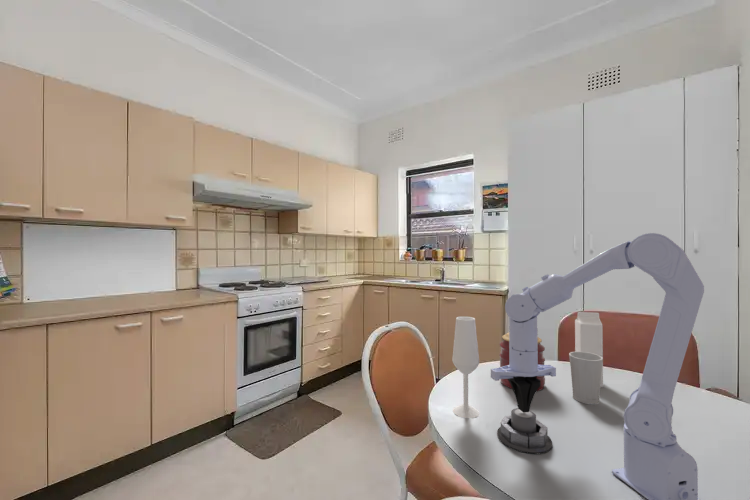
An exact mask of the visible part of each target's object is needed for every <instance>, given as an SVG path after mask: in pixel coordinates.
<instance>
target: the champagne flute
mask: <svg viewBox="0 0 750 500" xmlns="http://www.w3.org/2000/svg"><path fill="white" fill-rule="evenodd" d="M477 335H478V334H477V324H476V318H475V317H472V316H457V317H456V318H455V326H454V336H453V337H454V338H453V349H452V351H453V352H452V359H451V360H452V363H453V365H454V366H455V368H456V370H458V371H459V372H460V373H461V374H463V375H462V376H463V387H462V388H463V403H462V404H460V405H457V406H455V407H453V408H452V412H453V414H454V415H456V416H458V417H460V418H463V419H464V418H465V419H474V418H477V417H479V416H480V411H479V410H478V409H477V408H475V407H474V406H472V405H470V404H469V375H470V374H471V373H473V372H474V371H475V370H476V369H477V368H478V367H479V365H480V356H479V344H478V336H477Z"/></svg>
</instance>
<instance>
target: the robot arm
mask: <svg viewBox="0 0 750 500" xmlns="http://www.w3.org/2000/svg"><path fill="white" fill-rule="evenodd" d="M635 267H636V268H638V269H639V270H641V271H642V272H644V273H646V274H648V275H649V276H651V277H652V278H653V280H654V281H655V282H656V284H658V285H659V286H660V288H661V289H662V290H663V291H664V293H665V295H664V300H663V302H662V306H661V309H660V313H659V316H658V320H657V323H656V327H655V329H654V330H655V331H654V333H653V338H652V340H651V344H650V347H649V351H648V355H647V358H646V362H645V365H644V369H643V372H642V375H641V379H640V383H639V386H638V387H637V388H636V389H635V390H634V391H632V392H631V394H630V396H629V401H628V404H627V407H626V408H625V410H624V412H623V421H624V423H623V467H621V468H619V467H618V468H612V469H611V473H612V474H613V475H615V476H616V477H617V478H618V479H620V480H621V481H623V482H624V483H625V484H627V485H628V486H629V487H631V488H632V489H634V490H635V492H637V493H639V494H640V495H641V496H642V497H644V498H645V499H646V500H698V499H700V498H699V495H698V493H699V491H698V490H699V489H698V487H699V485H698V480H699V479H698V477H699V476H698V473H699V472H698V470H699V469H698V463H697V461H696V459H695V458H694V457H693V455H691V454H690V453H688V452H687V451H686V450H685V449H683V448H682V446H681V445H680V444H679V443H678V440H677V435H676V434H675V433H674V432H673V426H672V420H673V415H674V406H673V397H674V393H675V390H676V386H677V382H678V379H679V377H680V374H681V373H680V372H681V369H682V367H683V362H684V359H685V357H686V353H687V350H688V346H689V343H690V339H691V337H692V336H691V335H692V333H693V330H694V326H695V323H696V319H697V316H698V313H699V310H700V306H701V303H702V300H703V297H704V293H705V285H704V284H703V283H704V282H703V281H702V280H701V277H700V276H699V274H698V273H697V271H696V269H695V267H694V266H693V264H692V263H691V260H690V258H689V257H688V256H687V254H686V252H685V250H683V248H681V247H680V246H679V245H678V244H676V243H675V242H674V241H673V240H672V239H671V238H669V237H667V236H666V235H664V234H661V233H656V232H649V233H643V234H641V235H638V236H636V237H635V238H634V239H632V241H630V240H628V241H625V242H622V243H619V244H617V245H615V246H612V247H611V248H608V249H607V250H605V251H603V252H601V253H599V254H598V255H596V256H594V257H593V258H590V259H589V260H588V261H586V262H584V263H583V264H581V265H579V266H577V267H576V268H574V269H573V270H570V271H569V272H568V273H566V274H564V275H561V274H557V273H553V274H548V273H547V274H544V275H543V276H541V277H540V279H541V281H538V282H536V283H535V284H533V285H531V286H529V287H528V286H525V287H523V288H522V292H520V293H515V294H511V296H510V297H509V298H507V300H506V302H505V304H504V310H505V313H506V314H507V316H508V317H509V321H508V324H509V326H508V329H509V330H508V332H509V365H507V366H503V367H500V366H499V367H495V368H490V379H492V380H494V381H495V382H498V381H500V379H508V381H509V382H510V384H511V386H512V388H511V390H512V391H513V393H514V396H515V401H516V404H517V408H518V409H520V410H521V411H522V412H529V410H530V409H531V406H532V402H533V399H534V397H535V395H536V393H537V392H538V391H537V390H538V388H539V387H540V386H541V381H540V380H539V379H537V376H544V377H546V376H547V377H549V376H550V377H556V376H557V367H556V366H554V365H551V364H544V365H538V337H539V336H538V335H539V334H538V332H539V331H538V316H539V315H540V314H541V313H544V312H546V311H548V310H551V309H552V308H554V307H556V306H558V305H560V304H562V303H564V302H566V301H567V300H570V299H571V298H572V296H573V293H574V290H575V289H576V288H578V287H580V286H582V285H584V284H586V283H589V282H590V281H592V280H594V279H597V278H598V277H599V278H600V277H601V276H603V275H605V274H607V273H609V272H611V271H613V270H630V269H632V268H635ZM530 411H531V410H530Z"/></svg>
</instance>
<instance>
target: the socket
mask: <svg viewBox="0 0 750 500" xmlns="http://www.w3.org/2000/svg"><path fill="white" fill-rule="evenodd" d="M548 431H549V430H548V427H547V426H546V425H545V424H543V423H542V422H541V421H540V420H538V419H536V433H530V434H526V433H523V432H519V431H516V430H513V429H512V428H511V415H505V416H504V417H503V419H502V420H501V421H500V427H498V429H497V430H496V435H497V438H498V440H499V441H500V442H501V443H502V445H504V446H506V447H508V448H510V449H512V450H514V451H515V452H516V451H517V452H520V453H523V454H527V455H528V454H530V455H541V454H546V453H548V452H549V451H551V450H552V448H553V441H552V439H551V438H550V436H549V435H548Z"/></svg>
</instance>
